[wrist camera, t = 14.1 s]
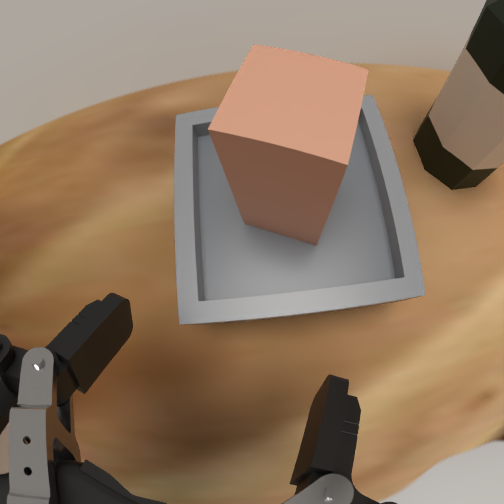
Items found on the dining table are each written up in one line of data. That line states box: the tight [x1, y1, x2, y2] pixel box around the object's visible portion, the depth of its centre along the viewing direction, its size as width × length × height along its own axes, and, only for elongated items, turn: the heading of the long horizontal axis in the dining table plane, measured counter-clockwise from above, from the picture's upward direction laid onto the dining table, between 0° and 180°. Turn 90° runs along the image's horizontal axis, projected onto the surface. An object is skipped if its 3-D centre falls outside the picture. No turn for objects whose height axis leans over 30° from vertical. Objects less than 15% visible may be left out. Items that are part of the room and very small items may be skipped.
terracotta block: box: [208, 45, 368, 246], centre depth 15 cm, size 5×5×10 cm
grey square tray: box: [174, 95, 426, 325], centre depth 21 cm, size 14×14×7 cm
